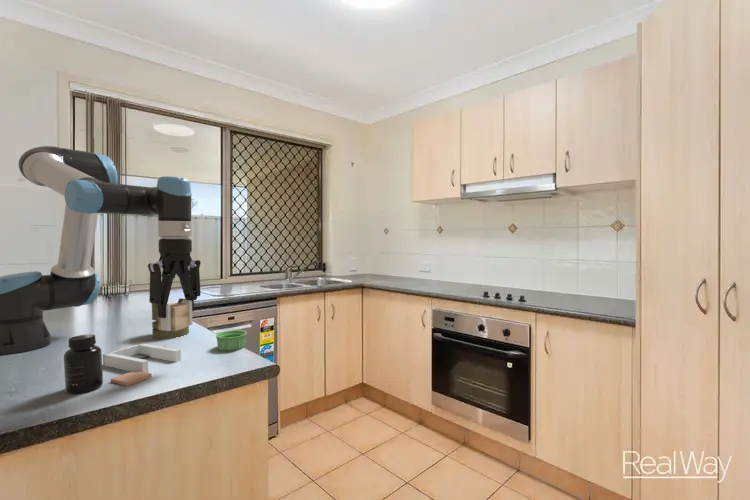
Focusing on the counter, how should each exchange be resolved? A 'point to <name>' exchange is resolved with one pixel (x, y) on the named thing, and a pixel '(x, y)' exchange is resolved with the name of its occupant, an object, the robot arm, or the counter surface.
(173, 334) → the piston
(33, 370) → the counter surface
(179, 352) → the channel
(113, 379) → the tile
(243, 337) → the ramekin
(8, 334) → the robot arm
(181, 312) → the block
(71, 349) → the supplement bottle
